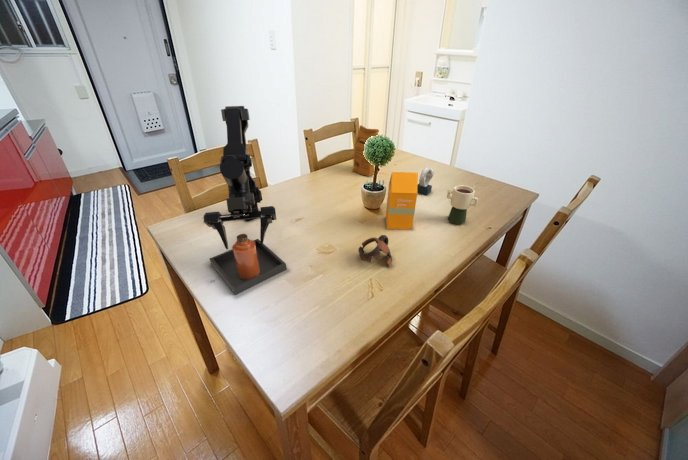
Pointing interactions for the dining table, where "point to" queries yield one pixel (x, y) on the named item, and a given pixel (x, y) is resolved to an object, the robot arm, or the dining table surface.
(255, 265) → the bottle
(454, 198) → the character mug
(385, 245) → the brown looped piece
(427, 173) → the stone sculpture
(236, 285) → the tray
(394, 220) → the orange juice
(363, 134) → the coffee package
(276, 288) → the dining table surface
